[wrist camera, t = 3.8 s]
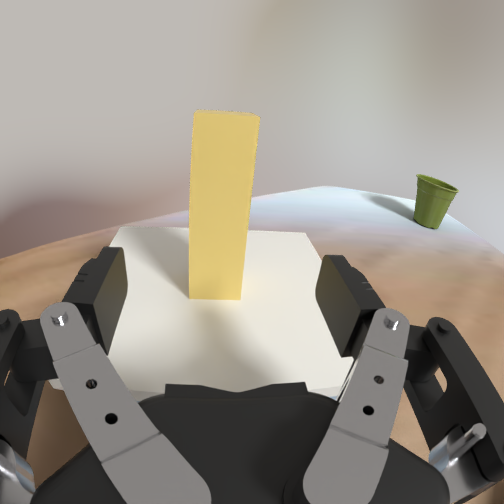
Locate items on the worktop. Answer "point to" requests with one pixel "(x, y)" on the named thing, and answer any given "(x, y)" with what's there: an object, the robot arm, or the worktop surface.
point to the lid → (221, 286)
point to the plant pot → (432, 200)
